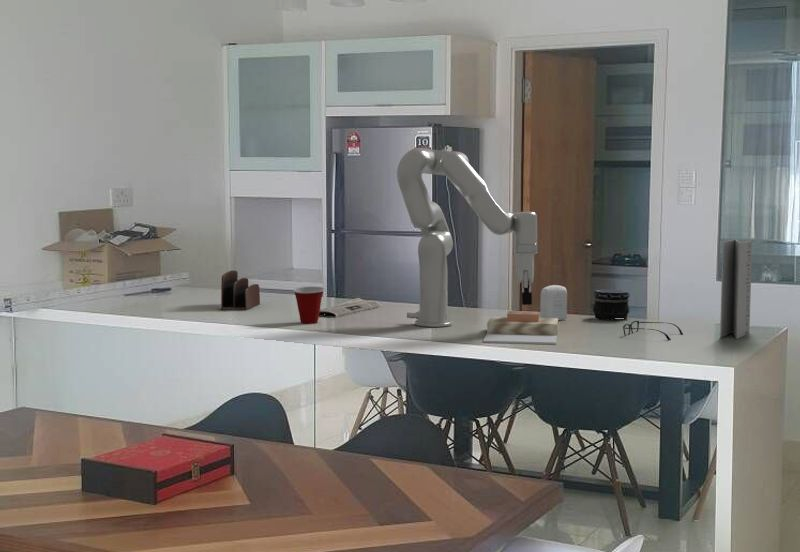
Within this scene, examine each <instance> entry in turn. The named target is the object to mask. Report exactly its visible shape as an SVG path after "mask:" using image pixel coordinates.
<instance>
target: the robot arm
mask: <svg viewBox="0 0 800 552" xmlns="http://www.w3.org/2000/svg"><path fill="white" fill-rule="evenodd" d="M423 174H425V175H436V176H437V175H438V176H444V177H446V179H448V180H449V182H450V183H451V184H452V185H453V186H454V188H456V189H457V191H458V192H459V193H460V194H461V196H462V197H463V198H464V199H465V201H466V202H467V204H468V205H469V206H470V207H471V209H472V211H473V212H474V213H475V214H476V216H477V217H478V218H479V220H480V221H482V224H484V225H485V227H486V228H487V229H488V230H489V231H490V232H491V233H492V234H494V235H497V236H503V235H506V234H512V233H513V234H514V254H515V255H517V284H518V285H520V284H521V285H522V286H521V288H522V292H521V305H523V306H529V305H530V306H531V305H532V304H533V292H532V284H533V283H534V278H535V277H534V276H535V255H536V254H538V253H539V252H538V249H539V248H538V215H537V213H536V212H534V211H518V212H516V211H515V212H512V211H505V210H503V209H502V208H501V207H500V206H499V205H498V204H497V202H496V201H495V200H494V198H493V197H492V195H491V193H490V191H489V189H488V185H487V183H486V181H484V179H483V178H482V177H481V176H480V175H479V174H478V173H477V172H476V170H475V169H474V168H473V167H472V165H471V164H470V161H469V158H468V156H467V155H466V154H465V153H464V152H461V151H455V150H453V151H451V150H449V151H448V150H438V149H430V148H422V147H414V148H412V149H410V150H408V151H406V152H405V153H404V155H403V156H402V157H401V158H400V160H399V162H398V164H397V170H396V179H397V183H398V186H399V190H400V192H401V195H402V198H403V202H404V205H405V207H406V210H407V212H408V216H409V220H410V221H411V224H412V226H413V227H414V228H416V229H418V230H420V233H421V235H422V236H421V238H420V239H419V242H418V245H417V257H418V266H419V267H418V268H419V269H418V270H419V272H418V273H419V276H418V277H419V278H418V279H419V310H418V311H416V312H406V318H407V319H416V320H415V321H414V325H415V326H419V327H426V328H427V327H429V328H435V327H436V328H437V327H438V328H439V327H449V326H451V325H453V321H452V320H450V319H448V285H449V281H448V275H449V274H448V273H449V272H448V259H447V256H448V255H449V254H450V253H451V252H452V250H453V248H454V240H453V237H452V233H451V232H450V229H449V226H448V223H447V220H446V217H445V215H444V212H443V210H442V208H441V207H440V205H438V203H436V202H435V201H432V200H431V197H430V195H429V192H428V189H427V187H426V184H425V181H424V180H423Z"/></svg>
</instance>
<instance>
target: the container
mask: <svg viewBox="0 0 800 552" xmlns="http://www.w3.org/2000/svg"><path fill="white" fill-rule="evenodd" d="M630 295H631V294H630V293H629V292H628V290H621V289H596V290H595V292H593V297H594V299H593V300H594V305H593V309H592V312H593V313H594V318H595V319H596V320H603V321H625V319H626V320H628V315H629V313H630V308H629V307H630V306H629V301H630V299H629V298H630ZM615 318H624V319H615Z"/></svg>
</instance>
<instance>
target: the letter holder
mask: <svg viewBox="0 0 800 552" xmlns="http://www.w3.org/2000/svg"><path fill="white" fill-rule="evenodd" d="M238 277H239V276H238V271H237V270H229V271H227V272H225V273H224V274H222V275H221V283H220V284H221V288H220V289H221V291H220V292H221V293H220V297H221V298H220V299H221V300H220V301H221V302H220V303H221V305H220V311H244V312H245V311H249V310H251V309H252V308H255V307H257V306H259V305H261V296H260V286H259V284H258V283H253V284H251V285H249V278H247V277H241V278H239V279H238Z"/></svg>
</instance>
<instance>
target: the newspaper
mask: <svg viewBox="0 0 800 552" xmlns="http://www.w3.org/2000/svg"><path fill="white" fill-rule="evenodd" d="M378 307H380V308H382V304H381V302H379V301H377V300H368V299H367V300H365V299H362V298H360V297H356V298H354V299H350V300H348V301H345V302H343V303H339V304H337V305H334V306H329V307H325V308H320V313H319V317H321V316H320V315H323V316H325V315H324V314H328V315H326V318H336V319H337V318H340V317H345V315H346V316H349V314H350V315H353V314H352V313H354V314H357V313H356V312H358V313H361V312H360V311H363V312H365V311H364V310H367V311H369V310H368V309H371V310H374V309H373V308H376V309H379V308H378ZM330 313H331V314H330Z"/></svg>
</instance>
